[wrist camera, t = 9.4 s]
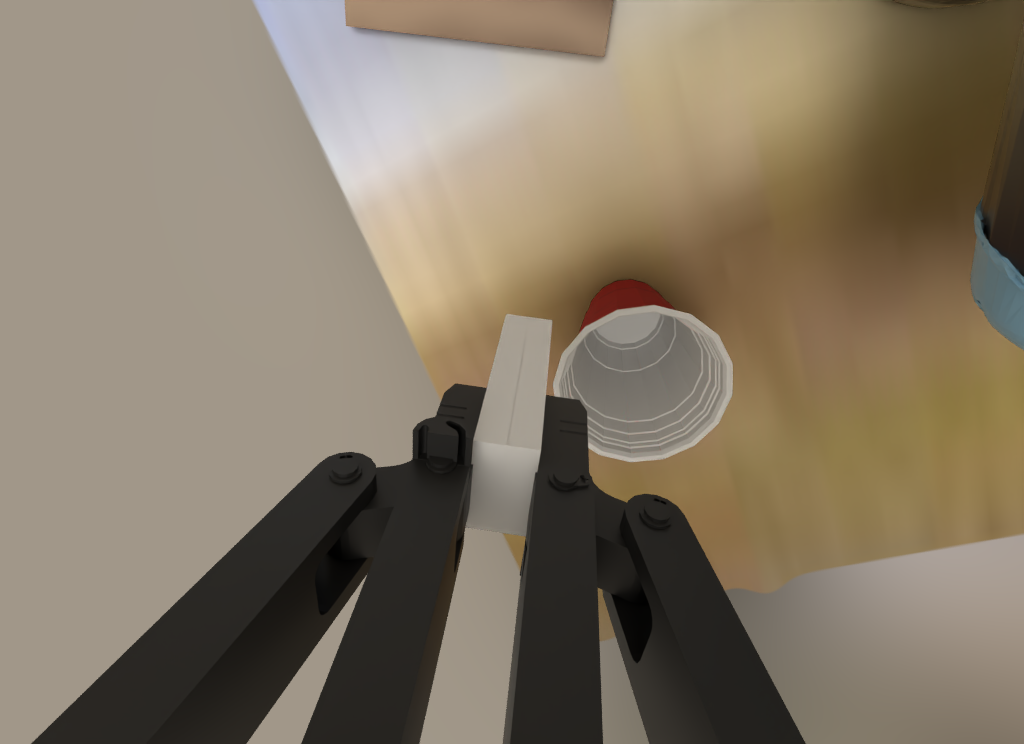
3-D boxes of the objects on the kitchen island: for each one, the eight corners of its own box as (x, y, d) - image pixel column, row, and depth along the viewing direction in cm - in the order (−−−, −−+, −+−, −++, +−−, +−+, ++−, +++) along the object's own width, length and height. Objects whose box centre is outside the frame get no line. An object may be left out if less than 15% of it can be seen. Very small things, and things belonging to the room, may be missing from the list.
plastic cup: (727, 280, 41) (776, 359, 31) (650, 388, 47) (671, 485, 36) (598, 218, 40) (606, 279, 29) (535, 337, 45) (523, 423, 35)
